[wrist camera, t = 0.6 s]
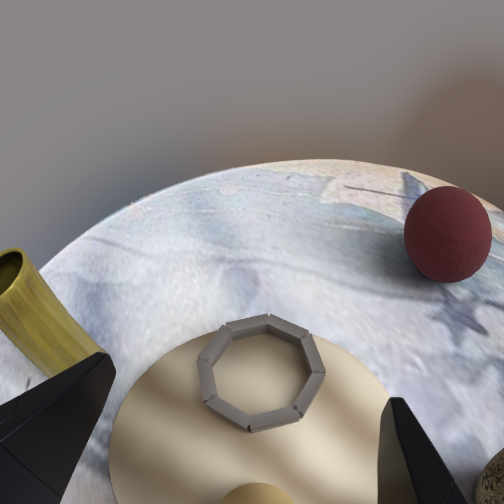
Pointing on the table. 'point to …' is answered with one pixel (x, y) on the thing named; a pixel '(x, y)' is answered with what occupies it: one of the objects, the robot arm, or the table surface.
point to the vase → (39, 317)
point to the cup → (491, 482)
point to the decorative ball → (447, 234)
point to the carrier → (250, 422)
